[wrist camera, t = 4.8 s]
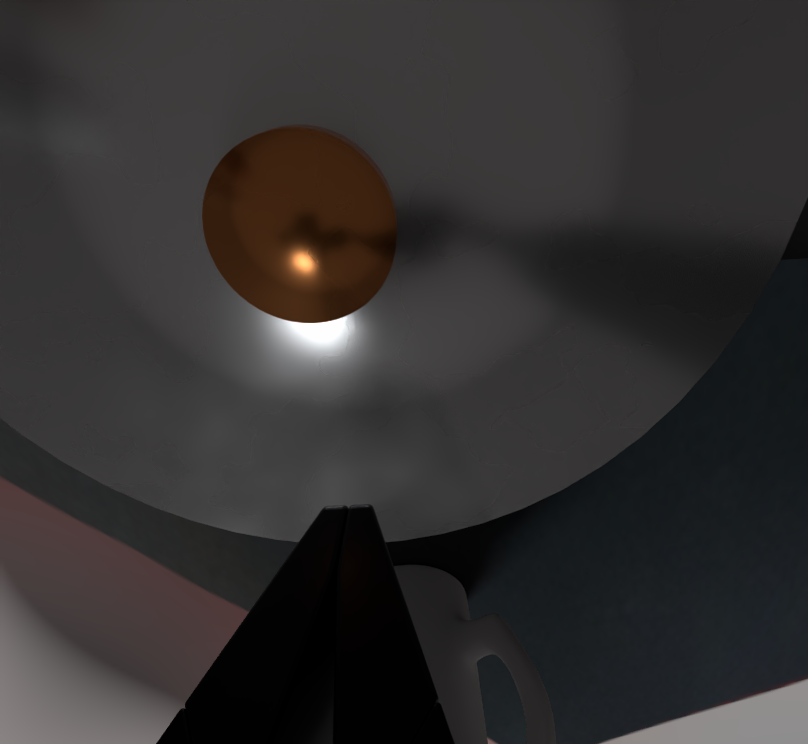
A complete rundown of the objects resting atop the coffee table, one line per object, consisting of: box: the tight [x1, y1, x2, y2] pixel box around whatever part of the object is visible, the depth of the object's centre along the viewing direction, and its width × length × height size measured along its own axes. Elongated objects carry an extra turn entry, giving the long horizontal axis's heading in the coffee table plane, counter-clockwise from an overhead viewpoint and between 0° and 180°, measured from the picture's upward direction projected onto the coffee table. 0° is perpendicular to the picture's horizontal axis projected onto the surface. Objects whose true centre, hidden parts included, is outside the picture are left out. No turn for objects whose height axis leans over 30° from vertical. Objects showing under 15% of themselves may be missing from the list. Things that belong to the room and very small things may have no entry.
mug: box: [394, 565, 556, 744], centre depth 21 cm, size 10×7×12 cm, turn 127°
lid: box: [0, 0, 808, 542], centre depth 8 cm, size 17×17×2 cm
